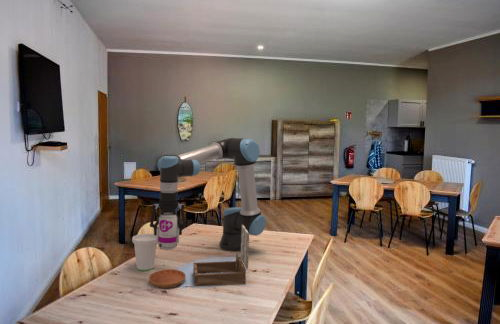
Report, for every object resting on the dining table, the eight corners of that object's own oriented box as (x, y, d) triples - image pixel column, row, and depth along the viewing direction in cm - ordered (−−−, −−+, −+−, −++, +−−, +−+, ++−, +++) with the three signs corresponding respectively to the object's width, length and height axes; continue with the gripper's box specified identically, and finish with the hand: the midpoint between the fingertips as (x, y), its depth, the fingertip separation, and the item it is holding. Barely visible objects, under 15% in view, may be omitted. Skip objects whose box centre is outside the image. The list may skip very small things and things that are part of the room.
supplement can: (172, 251, 161) (173, 216, 159) (154, 249, 162) (155, 215, 161) (180, 245, 169) (180, 212, 167) (162, 243, 170) (163, 211, 169)
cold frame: (193, 272, 178) (194, 225, 176) (241, 270, 183) (243, 224, 181) (194, 286, 163) (195, 234, 161) (247, 283, 168) (249, 233, 166)
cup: (163, 266, 186) (164, 235, 184) (147, 274, 174) (147, 242, 173) (144, 261, 191) (144, 232, 190) (126, 269, 180) (126, 238, 178)
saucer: (167, 293, 156) (167, 286, 156) (141, 283, 165) (141, 277, 165) (193, 281, 170) (193, 274, 169) (168, 272, 178) (168, 266, 178)
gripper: (143, 192, 158) (142, 245, 160) (193, 193, 162) (192, 244, 164) (144, 189, 165) (143, 240, 167) (192, 190, 169) (191, 239, 171)
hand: (167, 242), depth 165 cm, fingers closed on supplement can, 8 cm apart
